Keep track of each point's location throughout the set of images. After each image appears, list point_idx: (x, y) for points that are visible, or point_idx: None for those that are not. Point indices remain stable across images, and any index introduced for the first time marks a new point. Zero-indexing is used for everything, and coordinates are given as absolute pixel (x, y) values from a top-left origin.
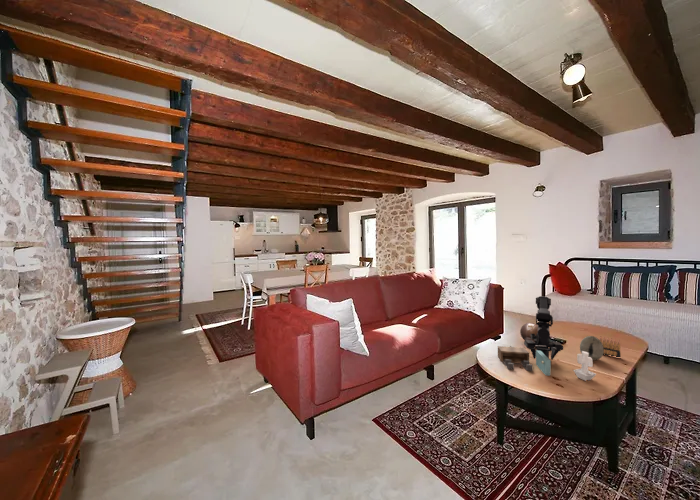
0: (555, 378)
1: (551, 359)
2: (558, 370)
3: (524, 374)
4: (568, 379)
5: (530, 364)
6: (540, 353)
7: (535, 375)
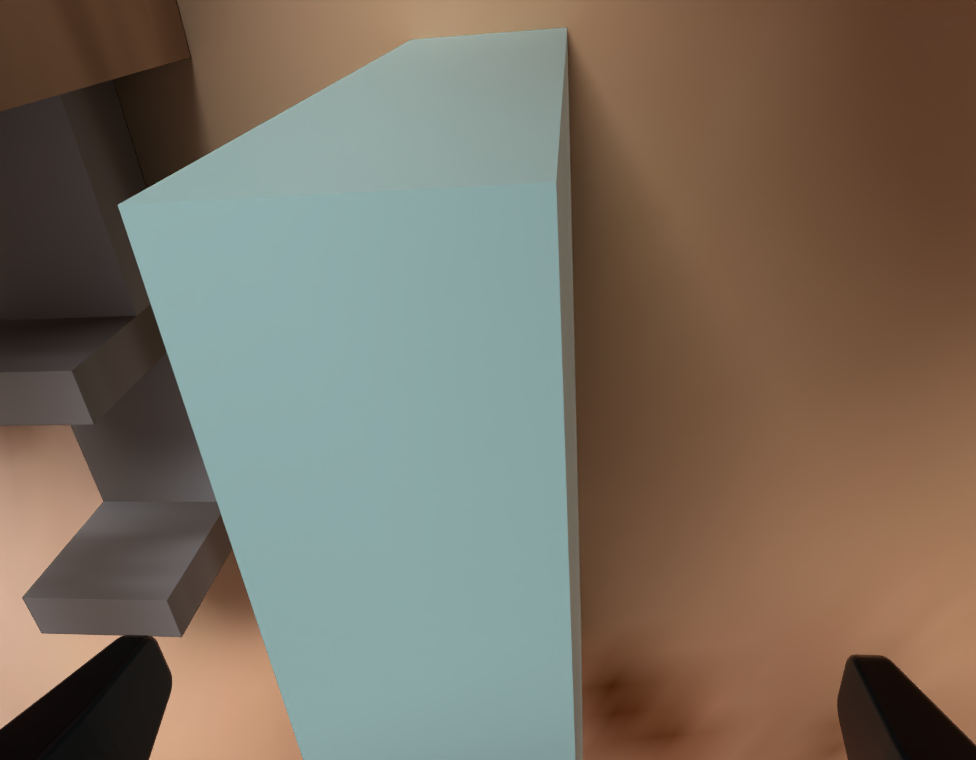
0: (634, 719)
1: (842, 694)
2: (965, 364)
3: None
4: None
5: (129, 597)
6: (370, 725)
7: None
